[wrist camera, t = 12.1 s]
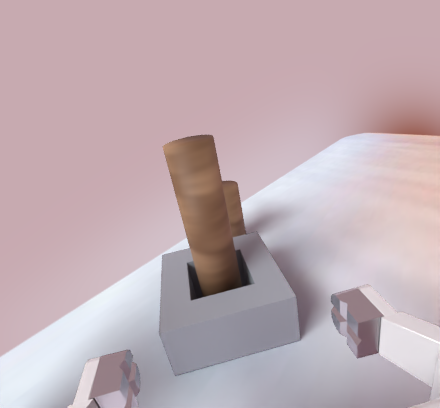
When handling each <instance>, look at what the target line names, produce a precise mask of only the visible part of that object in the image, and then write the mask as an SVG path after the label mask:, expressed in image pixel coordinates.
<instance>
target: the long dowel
mask: <svg viewBox="0 0 440 408" xmlns="http://www.w3.org/2000/svg"><path fill="white" fill-rule="evenodd" d="M163 150H164V153H165V157H166V161H167V164H168V168H169V172H170V176H171V179H172V183H173V187H174V191H175V194H176V198H177V202H178V205H179V209H180V213H181V216H182V220H183V224H184V228H185V231H186V235H187V239H188V243H189V246H190V250H191V254H192V258H193V261H194V265H195V269H196V272H197V276H198V280H199V284H200V287H201V291H202V295H203V297H206V296H210V295H214V294H218V293H222V292H225V291H229V290H233V289H237V288H241V287H242V283H241V278H240V273H239V268H238V263H237V257H236V252H235V247H234V242H233V237H232V231H231V226H230V221H229V216H228V211H227V205H226V200H225V195H224V190H223V185H222V180H221V174H220V169H219V164H218V159H217V153H216V148H215V143H214V138H213V136H212V135H198V136H191V137H186V138H182V139H178V140H175V141H172V142H169V143H167V144H165V145H164V146H163Z"/></svg>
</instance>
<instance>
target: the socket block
mask: <svg viewBox="0 0 440 408" xmlns="http://www.w3.org/2000/svg"><path fill="white" fill-rule="evenodd" d="M233 242H234V247H235V252H236V257H237V263H238V268H239V273H240V278H241V283H242V287H241V288H237V289H233V290H229V291H225V292H222V293H218V294H214V295H210V296H206V297H203V295H202V291H201V287H200V284H199V280H198V276H197V272H196V269H195V265H194V261H193V258H192V254H191V250H190V248H188V249H184V250H180V251H176V252H172V253H168V254H164V255H162V274H161V300H160V325H159V334H160V337H161V340H162V342H163V345H164V348H165V350H166V353H167V356H168V358H169V361H170V364H171V366H172V369H173V372H174V374H175V376H176V375H180V374H183V373H187V372H190V371H194V370H197V369H201V368H204V367H208V366H211V365H215V364H218V363H222V362H226V361H229V360H233V359H236V358H240V357H243V356H247V355H250V354H254V353H257V352H261V351H264V350H268V349H271V348H275V347H278V346H282V345H285V344H289V343H292V342H296V341H299V340H300V331H299V320H298V310H297V299H296V295H295V293H294V292H293V290H292V289H291V287H290V285H289V284H288V282H287V280H286V279H285V277H284V275H283V274H282V272H281V270H280V269H279V267H278V265H277V264H276V262H275V260H274V259H273V257H272V256H271V254H270V252H269V251H268V249H267V247H266V246H265V244H264V242H263V241H262V239H261V237H260V236H259V234H258V232H253V233H249V234H245V235H241V236H237V237H233ZM202 297H203V298H202ZM198 298H199V299H198Z"/></svg>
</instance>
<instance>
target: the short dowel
mask: <svg viewBox="0 0 440 408" xmlns="http://www.w3.org/2000/svg"><path fill="white" fill-rule="evenodd" d="M222 185H223V190H224V195H225V200H226V205H227V211H228V216H229V221H230V226H231V231H232V237H237V236H241V235H245V234H246V231H245V225H244V219H243V213H242V207H241V202H240V196H239V190H238V184H237V182H235V181H222Z"/></svg>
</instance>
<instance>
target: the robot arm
mask: <svg viewBox="0 0 440 408" xmlns="http://www.w3.org/2000/svg"><path fill="white" fill-rule="evenodd" d="M331 302H332V304H333V305H334V307H333V309H332V310H331V312H332V319H333V322H334V325H335V327H336V329H337V330H338V332H339V333H340V334H341V335H343V336H345V337H347V345H348V346H349V348H350V349H351V350H352V352H353V353H354V355H355V356H356V358H361V357H365V356H369V355H373V354H377V353H379V355H381V356H382V357H384V358H386V359H387V360H389V361H390V362H392V363H393V364H395V365H397V366H398V367H400V368H401V369H403V370H405V371H406V372H408V373H409V374H411V375H412V376H414V377H416V378H417V379H419V380H420V381H422V382H424V383H425V384H427V385H428V386H430V387H431V388H432V389H431V394H430V400H429V401H427V402H424V403H421V404H417V405H414V406H411V407H408V408H440V327H439V326H437V325H434V324H432V323H429V322H426V321H424V320H421V319H419V318H416V317H414V316H411V315H409V314H406V313H404V312H399V313H398V312H397V311H396V310H395V309H394V308H393V307H392V306H391V305H390V304H389V303H388V302H387V301H386V300H385V299H384V298H383V297H382V296H381V295H379V294H378V293H377V292H376V291H375V290H374V289H373V288H372V287H371V286H370V285H368V284H367V285H363V286H360V287H356V288H352V289H349V290H345V291H342V292H338V293H335V294H332V296H331ZM132 358H133V355H132V353H131V351H130V350H125V351H121V352H117V353H113V354H109V355H104V356H101V357H97V358H93V359H89V360H88V361H87V362H86V364H85V367H84V370H83V373H82V376H81V380H80V383H79V386H78V389H77V393H76V396H75V399H74V403H73V404H72V405H69V406H68V407H67V408H138V401H137V399H136V396H137V394H138V393H139V391H140V374H139V370H138V367H137V364H135V363H133V362H132Z"/></svg>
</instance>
